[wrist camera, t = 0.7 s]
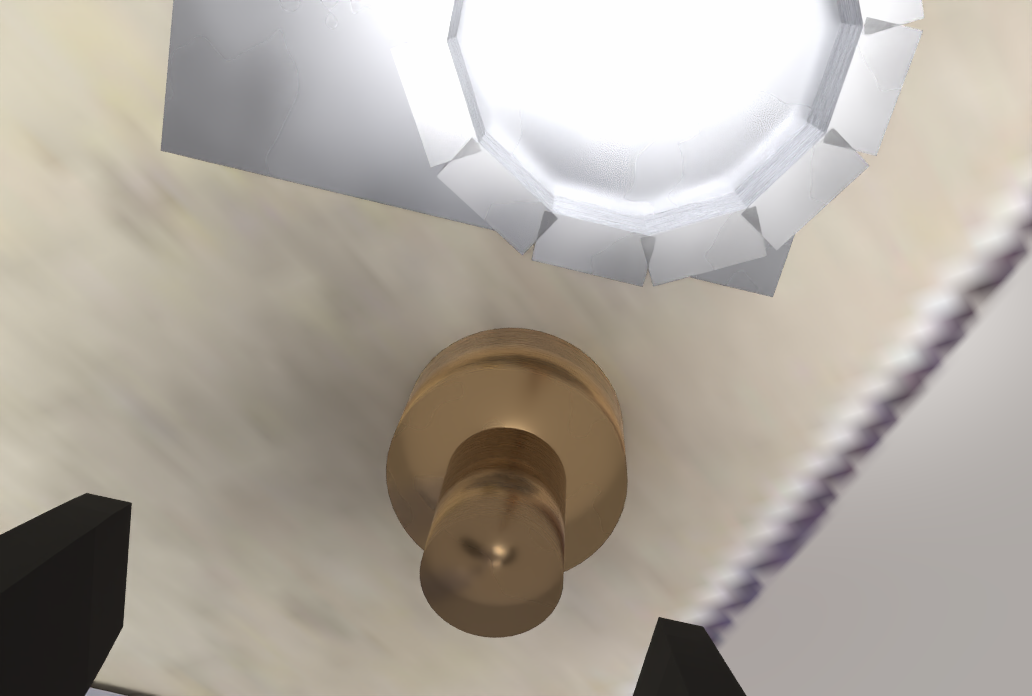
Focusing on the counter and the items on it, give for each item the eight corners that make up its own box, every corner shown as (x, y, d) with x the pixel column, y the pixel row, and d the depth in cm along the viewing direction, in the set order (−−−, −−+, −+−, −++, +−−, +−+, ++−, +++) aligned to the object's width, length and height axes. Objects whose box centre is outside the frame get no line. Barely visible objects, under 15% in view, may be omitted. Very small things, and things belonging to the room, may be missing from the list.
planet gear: (591, 543, 24) (594, 718, 18) (388, 495, 23) (328, 658, 18) (648, 357, 22) (672, 490, 16) (428, 304, 21) (374, 420, 16)
